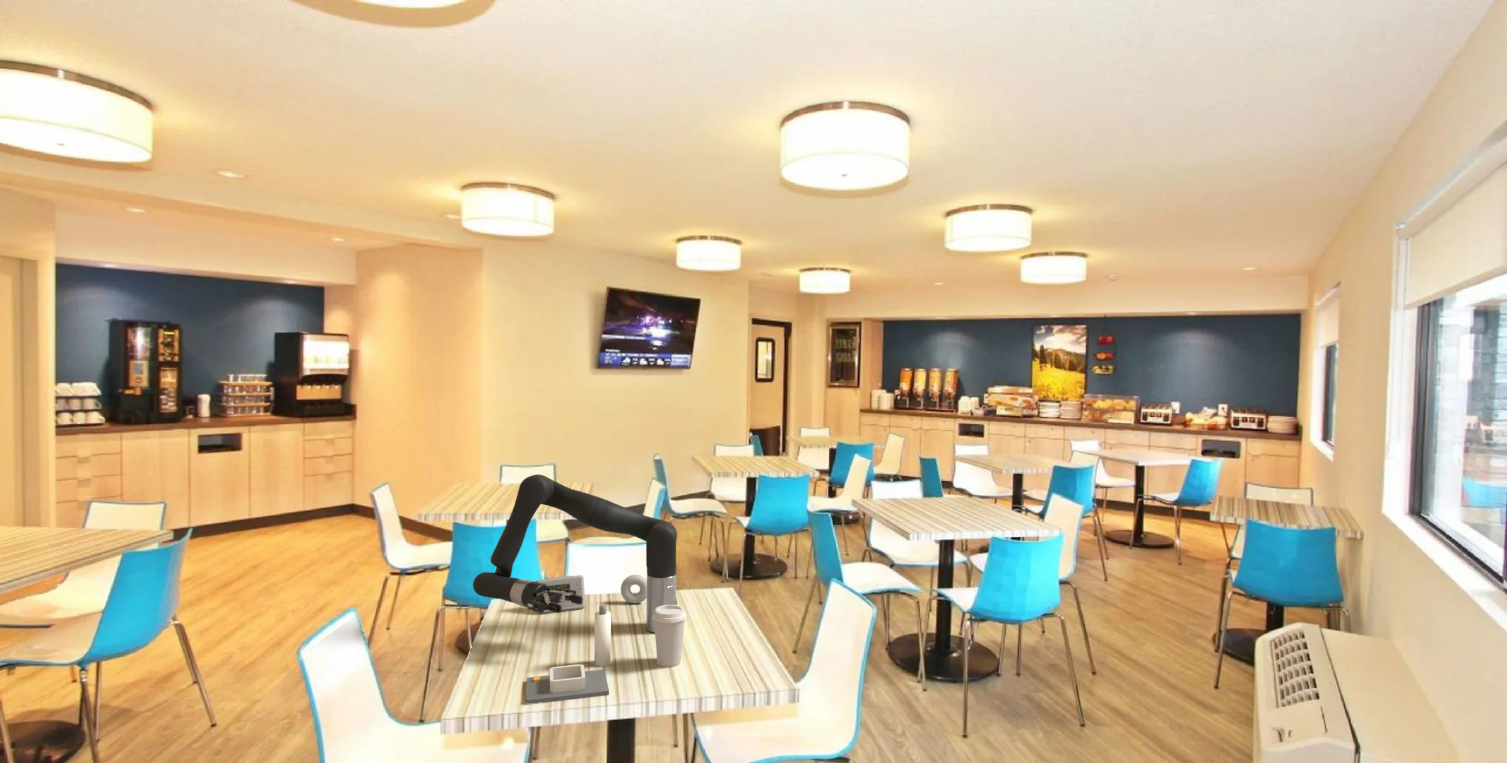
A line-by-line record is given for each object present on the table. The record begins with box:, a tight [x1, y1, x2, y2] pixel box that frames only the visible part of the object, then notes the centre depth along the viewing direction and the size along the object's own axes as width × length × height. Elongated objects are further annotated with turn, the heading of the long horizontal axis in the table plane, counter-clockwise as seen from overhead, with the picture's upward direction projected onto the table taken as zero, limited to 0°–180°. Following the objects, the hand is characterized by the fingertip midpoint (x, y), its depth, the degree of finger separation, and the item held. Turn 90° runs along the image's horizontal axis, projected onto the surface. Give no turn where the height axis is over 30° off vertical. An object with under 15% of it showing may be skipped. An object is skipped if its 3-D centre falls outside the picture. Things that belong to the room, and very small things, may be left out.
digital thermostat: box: [535, 574, 586, 615], centre depth 244 cm, size 16×9×11 cm, turn 103°
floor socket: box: [525, 664, 610, 704], centre depth 186 cm, size 20×13×4 cm, turn 107°
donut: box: [620, 574, 647, 605], centre depth 251 cm, size 10×4×10 cm, turn 94°
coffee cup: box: [652, 604, 687, 668], centre depth 203 cm, size 10×10×15 cm
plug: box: [593, 604, 612, 668], centre depth 201 cm, size 4×4×16 cm
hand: (571, 604), depth 206 cm, fingers open, 8 cm apart
